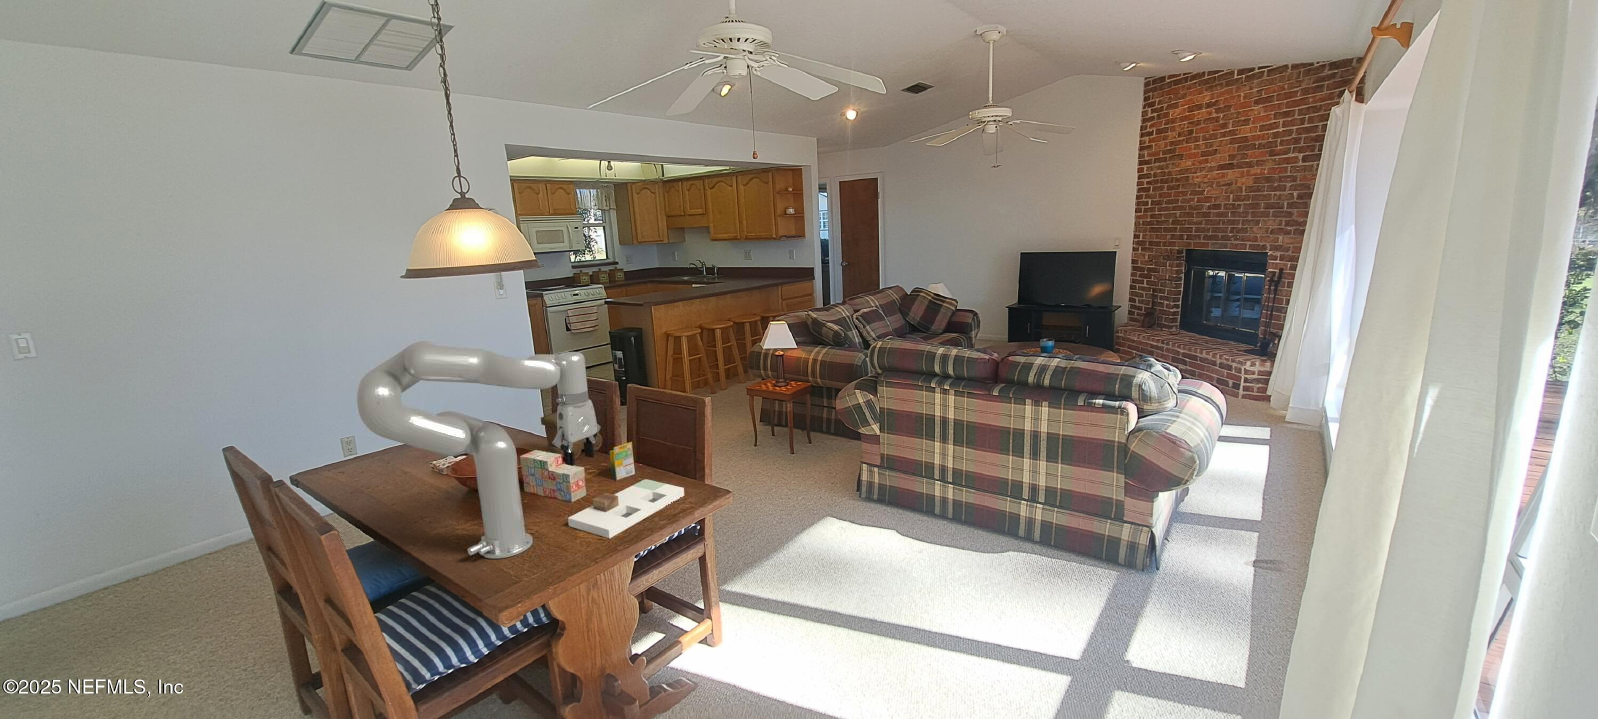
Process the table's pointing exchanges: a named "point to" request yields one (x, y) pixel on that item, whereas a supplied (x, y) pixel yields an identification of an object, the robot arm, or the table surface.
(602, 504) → the walnut block
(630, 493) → the trap board
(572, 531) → the table surface
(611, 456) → the crayon box
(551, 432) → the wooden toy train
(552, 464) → the stack of blocks
